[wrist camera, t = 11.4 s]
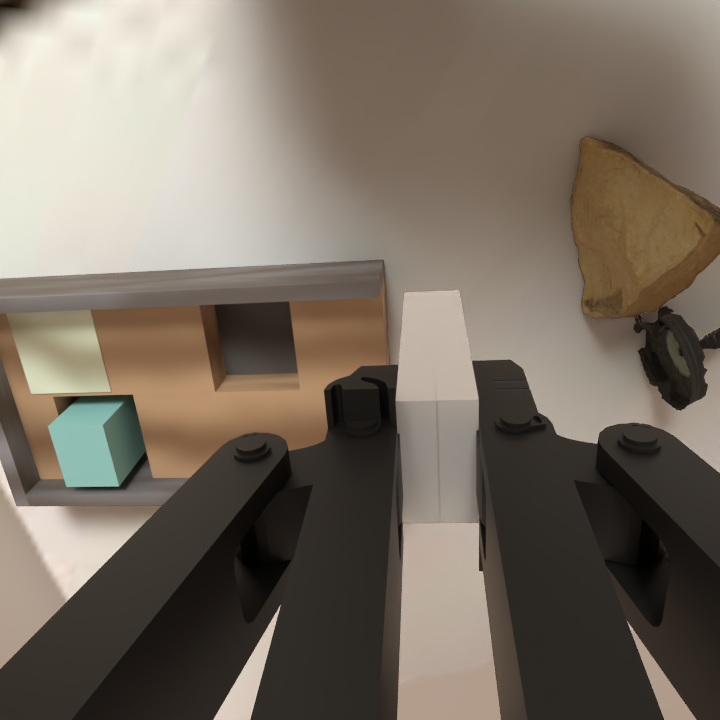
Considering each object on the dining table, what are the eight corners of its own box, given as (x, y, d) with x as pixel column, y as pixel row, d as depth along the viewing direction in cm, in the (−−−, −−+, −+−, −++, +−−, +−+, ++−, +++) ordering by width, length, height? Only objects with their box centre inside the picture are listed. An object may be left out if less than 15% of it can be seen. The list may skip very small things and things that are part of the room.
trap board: (-8, 279, 45) (-56, 301, 40) (383, 259, 42) (378, 281, 37) (52, 468, 51) (16, 506, 47) (395, 464, 48) (392, 503, 44)
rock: (653, 359, 41) (769, 226, 35) (603, 382, 34) (735, 224, 29) (528, 261, 45) (615, 131, 40) (464, 266, 39) (557, 113, 34)
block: (133, 392, 47) (83, 393, 48) (102, 425, 43) (47, 426, 43) (147, 449, 49) (98, 450, 50) (119, 486, 45) (66, 487, 45)
